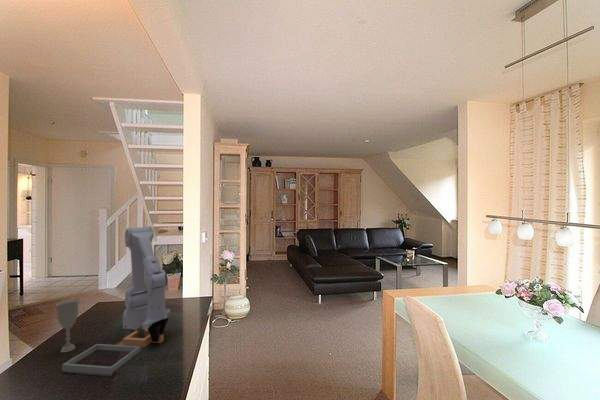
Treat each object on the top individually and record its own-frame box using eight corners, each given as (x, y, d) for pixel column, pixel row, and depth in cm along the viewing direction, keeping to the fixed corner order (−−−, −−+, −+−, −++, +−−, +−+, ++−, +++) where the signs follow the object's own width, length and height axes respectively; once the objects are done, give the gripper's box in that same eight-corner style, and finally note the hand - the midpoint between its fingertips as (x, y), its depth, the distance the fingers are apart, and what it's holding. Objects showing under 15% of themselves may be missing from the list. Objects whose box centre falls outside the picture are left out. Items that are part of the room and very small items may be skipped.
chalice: (84, 348, 108) (84, 300, 108) (64, 358, 102) (64, 307, 102) (71, 345, 111) (70, 298, 111) (51, 354, 104) (50, 305, 104)
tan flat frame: (122, 345, 108) (122, 339, 108) (139, 334, 117) (139, 328, 117) (154, 347, 107) (154, 341, 107) (169, 336, 115) (168, 330, 115)
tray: (62, 372, 93) (62, 364, 93) (97, 350, 107) (96, 343, 107) (111, 376, 91) (111, 368, 91) (140, 353, 104) (140, 346, 104)
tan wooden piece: (113, 348, 108) (113, 331, 108) (132, 336, 118) (132, 320, 118) (142, 350, 107) (142, 332, 107) (159, 337, 117) (159, 321, 117)
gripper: (154, 312, 104) (155, 349, 104) (177, 298, 118) (177, 331, 118) (136, 311, 105) (137, 348, 104) (161, 297, 119) (161, 330, 119)
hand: (157, 339), depth 111 cm, fingers closed on tan flat frame, 2 cm apart
